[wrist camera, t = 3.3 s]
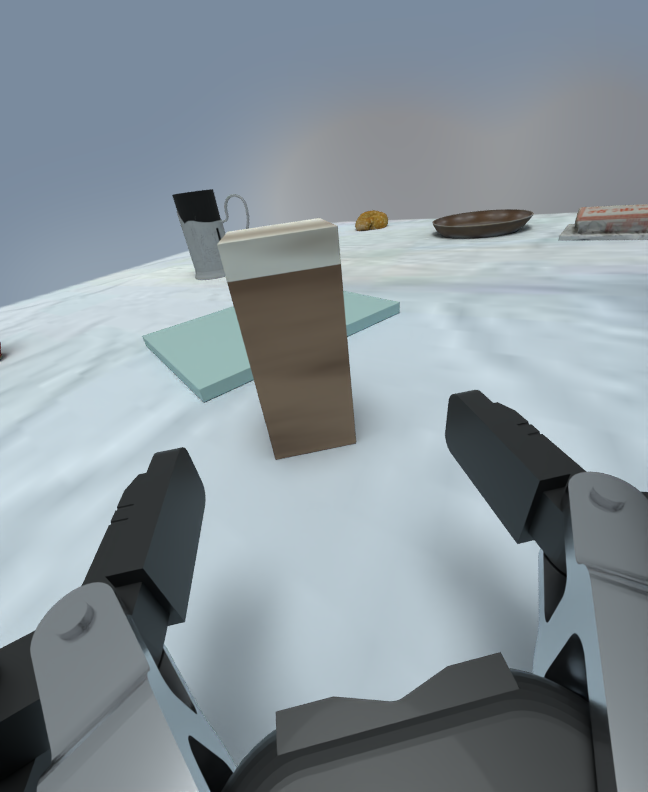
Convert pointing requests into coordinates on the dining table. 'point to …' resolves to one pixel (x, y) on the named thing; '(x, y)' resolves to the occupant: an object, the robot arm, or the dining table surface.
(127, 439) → the dining table surface
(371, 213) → the bagel
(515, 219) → the plant saucer
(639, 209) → the packaged product
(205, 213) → the glass holder
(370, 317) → the sage board
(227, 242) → the brown tall square block
